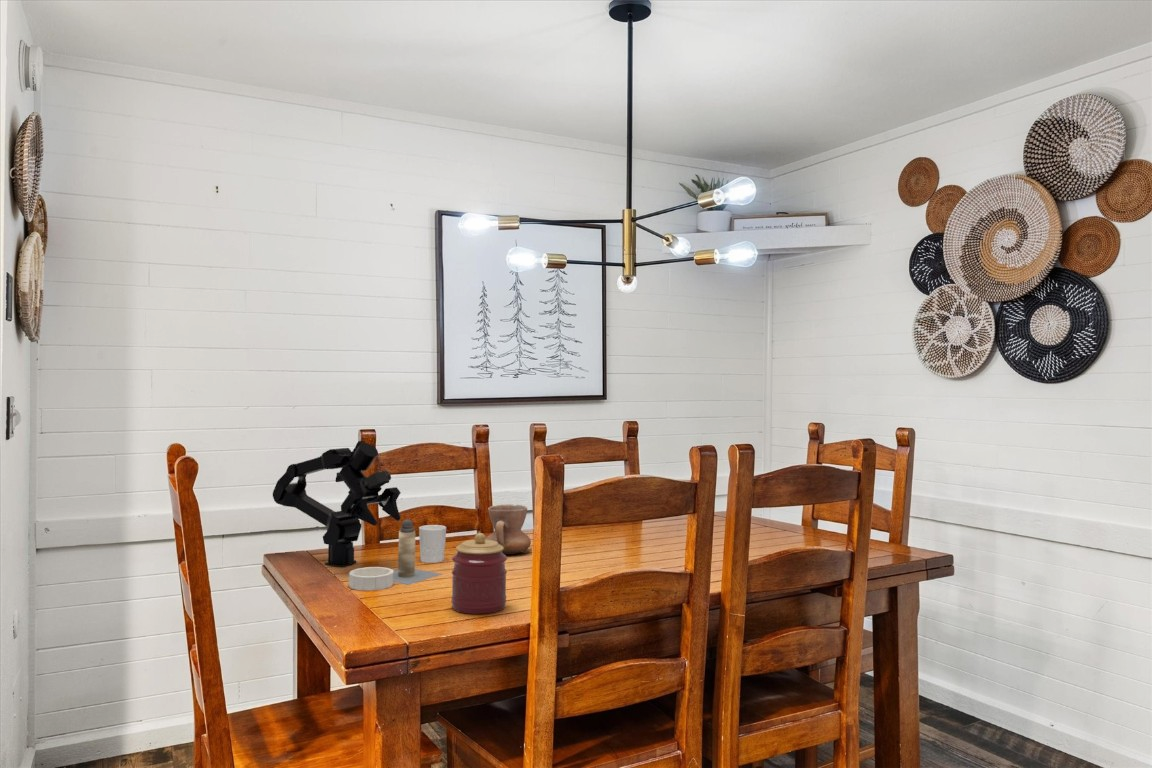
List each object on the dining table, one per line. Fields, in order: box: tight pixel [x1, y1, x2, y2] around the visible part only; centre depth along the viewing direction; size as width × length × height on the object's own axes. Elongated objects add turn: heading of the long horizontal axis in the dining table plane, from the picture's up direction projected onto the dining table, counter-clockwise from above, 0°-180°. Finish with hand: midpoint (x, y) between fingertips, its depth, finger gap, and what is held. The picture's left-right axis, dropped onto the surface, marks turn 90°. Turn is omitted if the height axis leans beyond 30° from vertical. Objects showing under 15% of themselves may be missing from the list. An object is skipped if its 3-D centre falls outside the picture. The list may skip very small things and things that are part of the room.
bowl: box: [348, 566, 395, 592], centre depth 207 cm, size 11×11×4 cm
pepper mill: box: [397, 518, 416, 578], centre depth 217 cm, size 4×4×15 cm
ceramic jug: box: [486, 503, 532, 555], centre depth 250 cm, size 18×14×14 cm
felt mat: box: [393, 568, 443, 586], centre depth 218 cm, size 14×14×1 cm
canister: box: [450, 532, 508, 615], centre depth 190 cm, size 13×13×18 cm
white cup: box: [418, 524, 447, 564], centre depth 236 cm, size 8×8×10 cm
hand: (387, 522), depth 222 cm, fingers open, 9 cm apart
